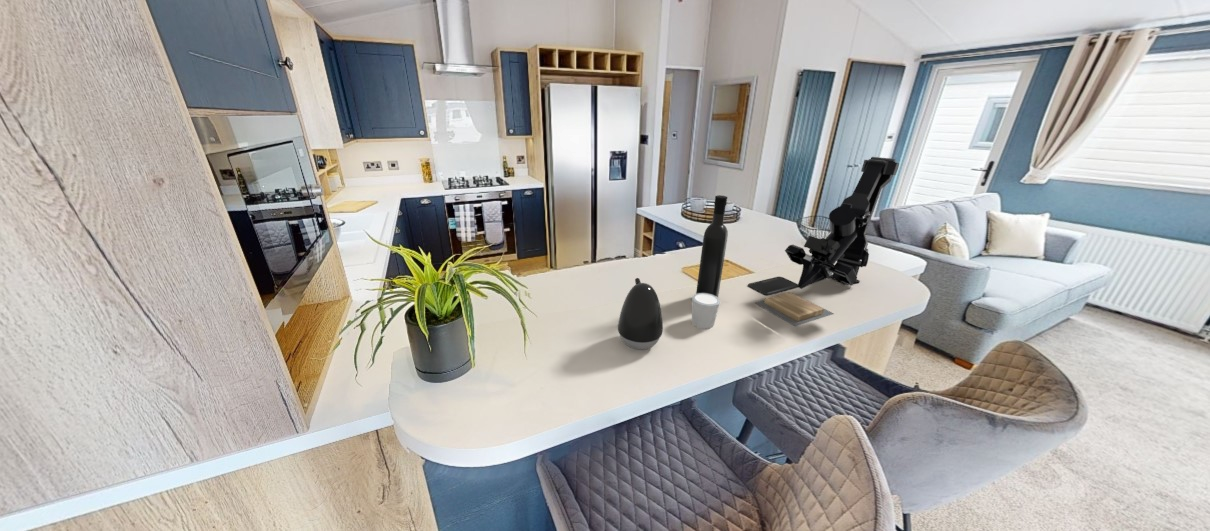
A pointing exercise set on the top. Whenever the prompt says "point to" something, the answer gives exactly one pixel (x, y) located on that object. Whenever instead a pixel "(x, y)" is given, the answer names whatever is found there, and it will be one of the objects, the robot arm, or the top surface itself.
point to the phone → (773, 285)
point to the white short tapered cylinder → (704, 310)
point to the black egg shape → (641, 317)
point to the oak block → (794, 306)
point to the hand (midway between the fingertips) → (799, 287)
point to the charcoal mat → (790, 320)
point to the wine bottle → (713, 251)
